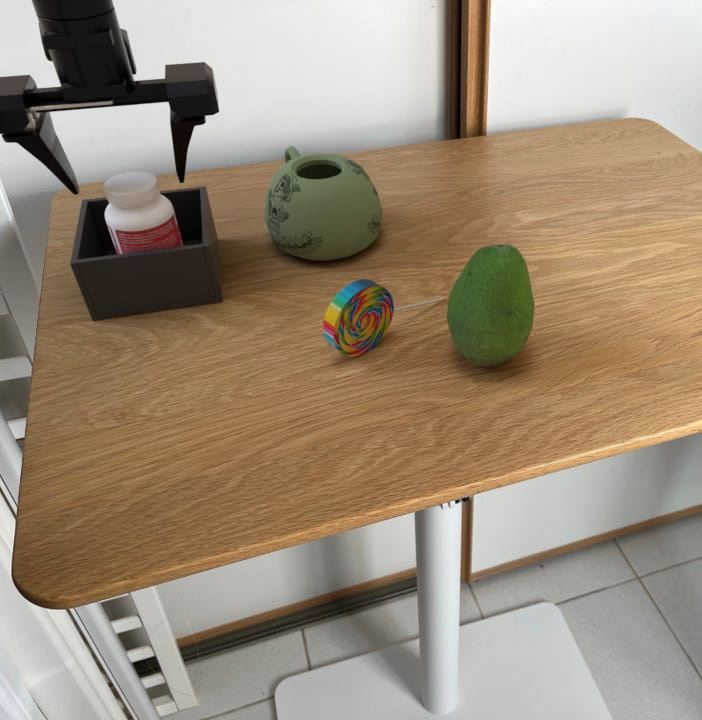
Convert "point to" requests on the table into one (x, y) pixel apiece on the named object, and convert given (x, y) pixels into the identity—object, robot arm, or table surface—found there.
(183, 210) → the bin
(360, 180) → the green rounded hollow pot
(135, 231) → the pill bottle
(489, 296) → the fruit
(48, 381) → the table surface
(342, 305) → the lollipop
